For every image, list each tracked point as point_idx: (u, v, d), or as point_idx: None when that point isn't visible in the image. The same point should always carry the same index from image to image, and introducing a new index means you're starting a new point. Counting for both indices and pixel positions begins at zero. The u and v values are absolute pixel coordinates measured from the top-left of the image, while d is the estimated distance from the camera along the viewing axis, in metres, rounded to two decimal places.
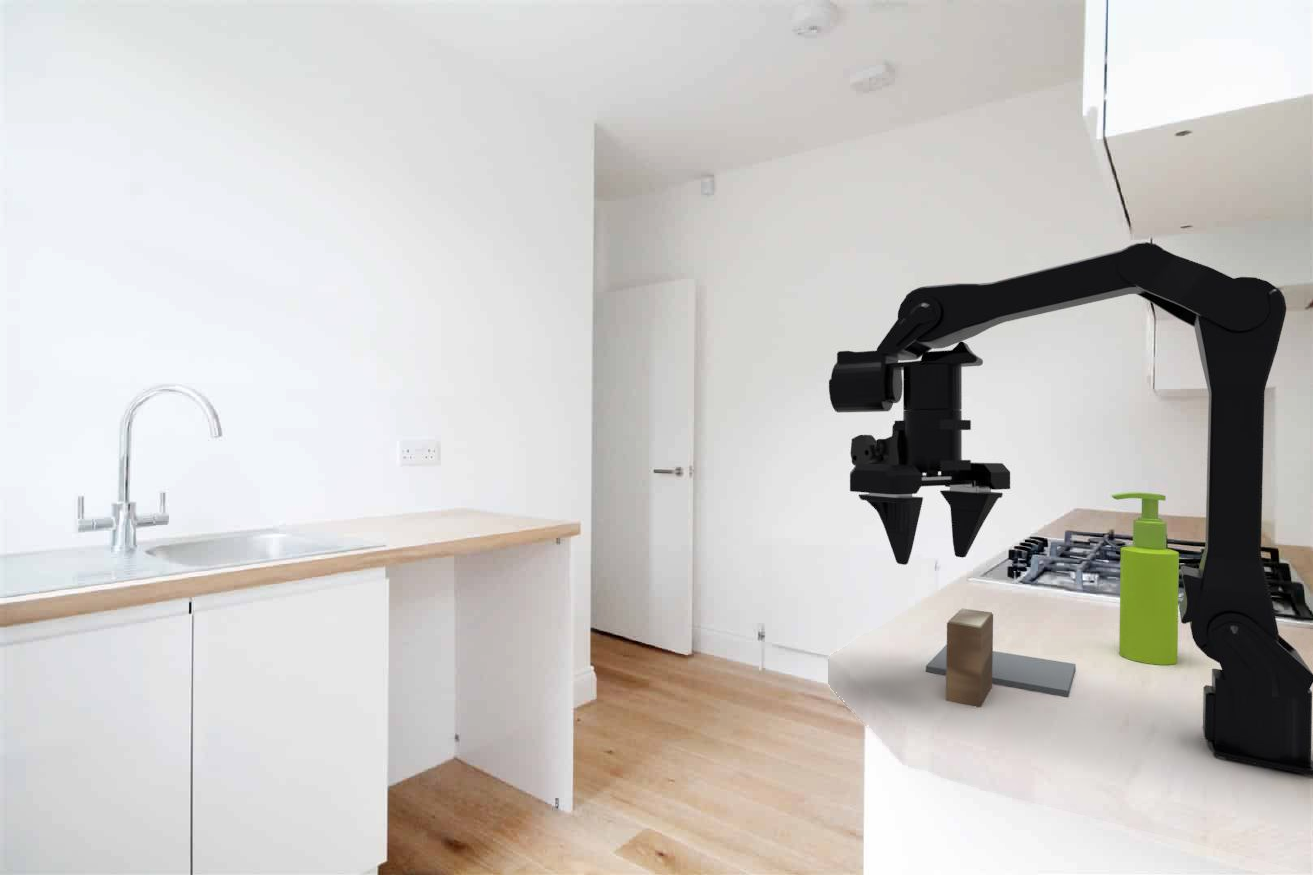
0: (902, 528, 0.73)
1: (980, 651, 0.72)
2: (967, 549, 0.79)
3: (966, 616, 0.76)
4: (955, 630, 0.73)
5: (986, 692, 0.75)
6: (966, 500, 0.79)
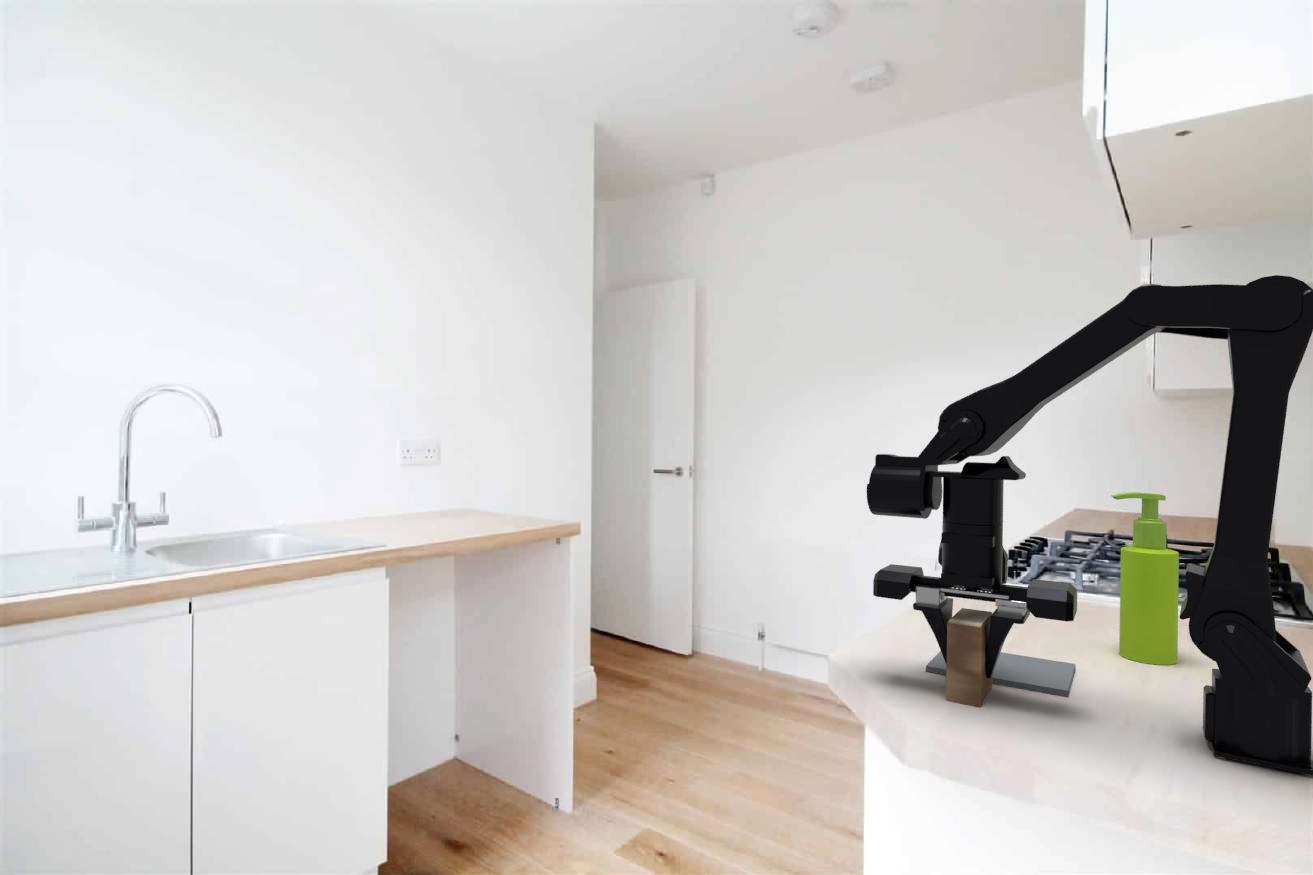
0: None
1: (980, 651, 0.72)
2: (987, 670, 0.74)
3: (966, 616, 0.76)
4: (955, 630, 0.73)
5: (986, 692, 0.75)
6: None
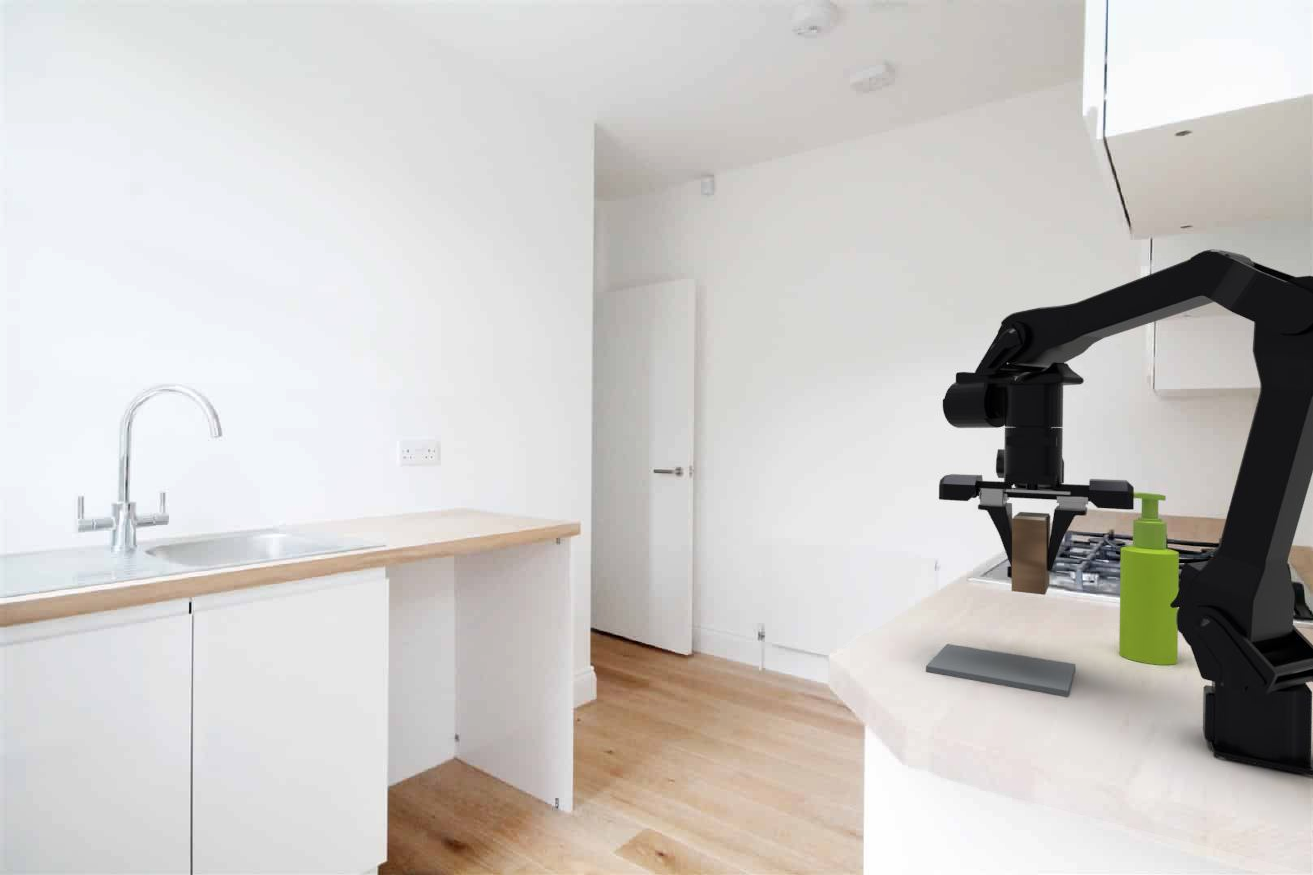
0: None
1: (1045, 542, 0.78)
2: (1049, 563, 0.80)
3: (1028, 515, 0.81)
4: (1020, 525, 0.79)
5: (1047, 584, 0.81)
6: None
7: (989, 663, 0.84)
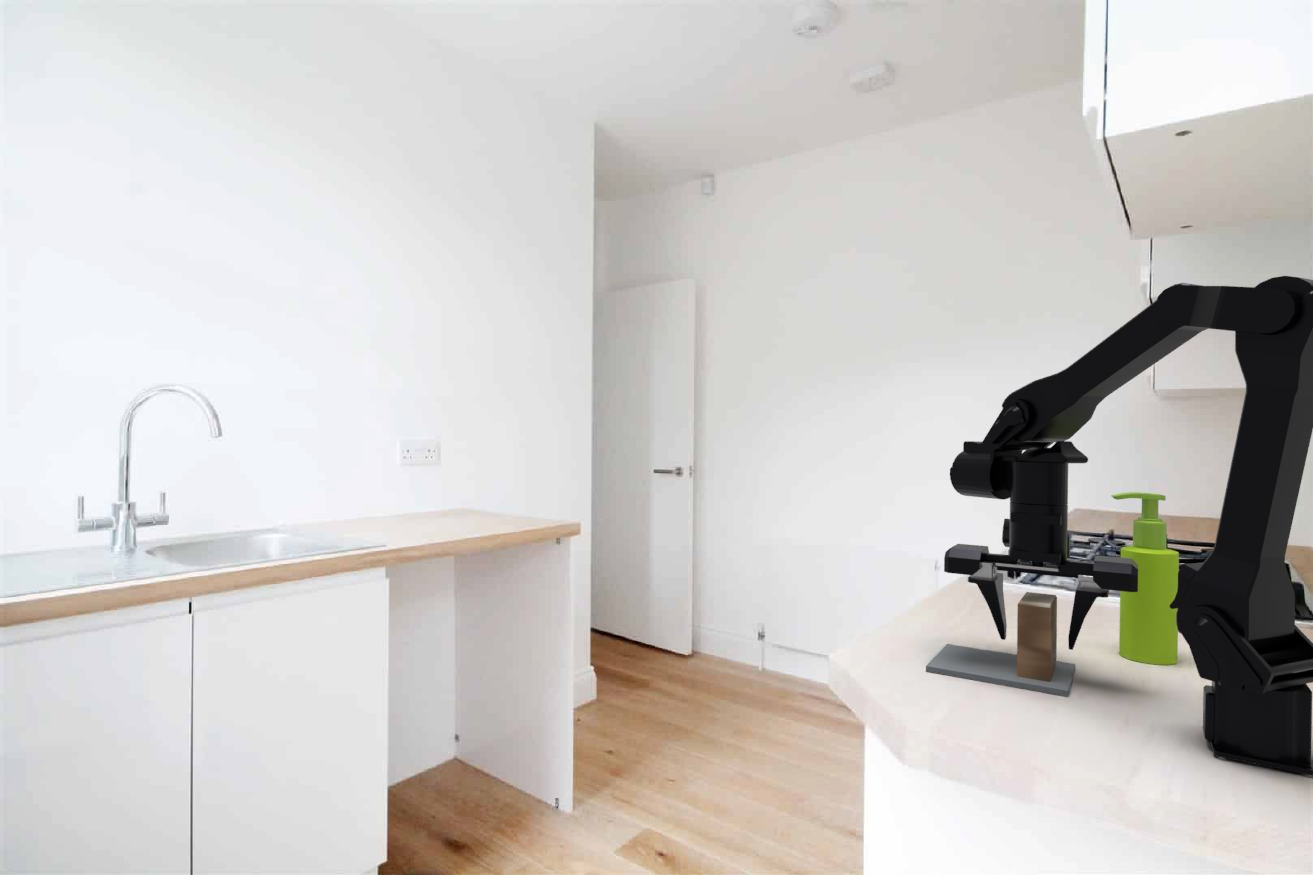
0: None
1: (1050, 629, 0.78)
2: (1071, 642, 0.79)
3: (1033, 598, 0.82)
4: (1025, 611, 0.79)
5: (1053, 668, 0.81)
6: None
7: (989, 663, 0.84)
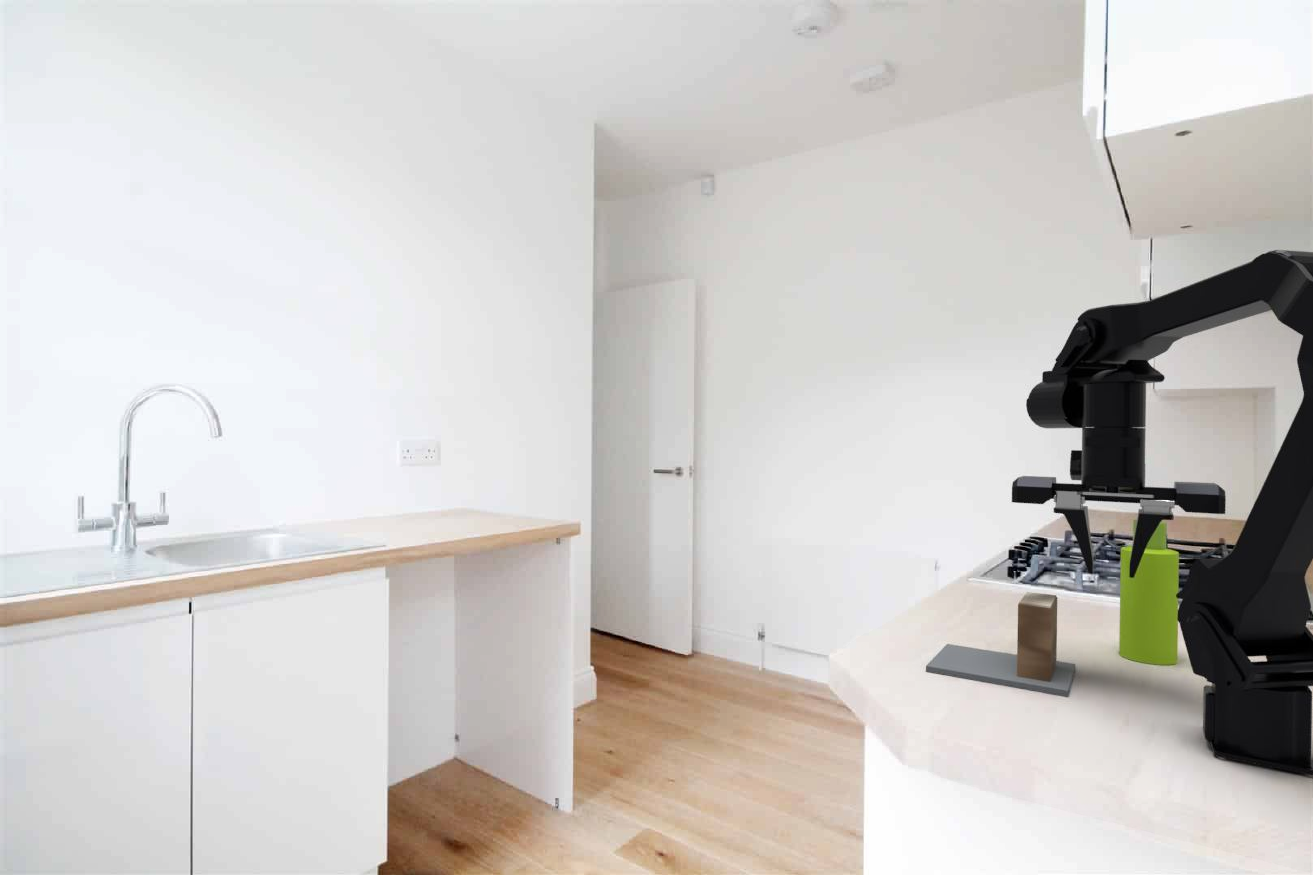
0: None
1: (1050, 630, 0.78)
2: (1132, 569, 0.76)
3: (1034, 598, 0.82)
4: (1026, 611, 0.79)
5: (1053, 668, 0.81)
6: (1137, 519, 0.76)
7: (989, 663, 0.84)
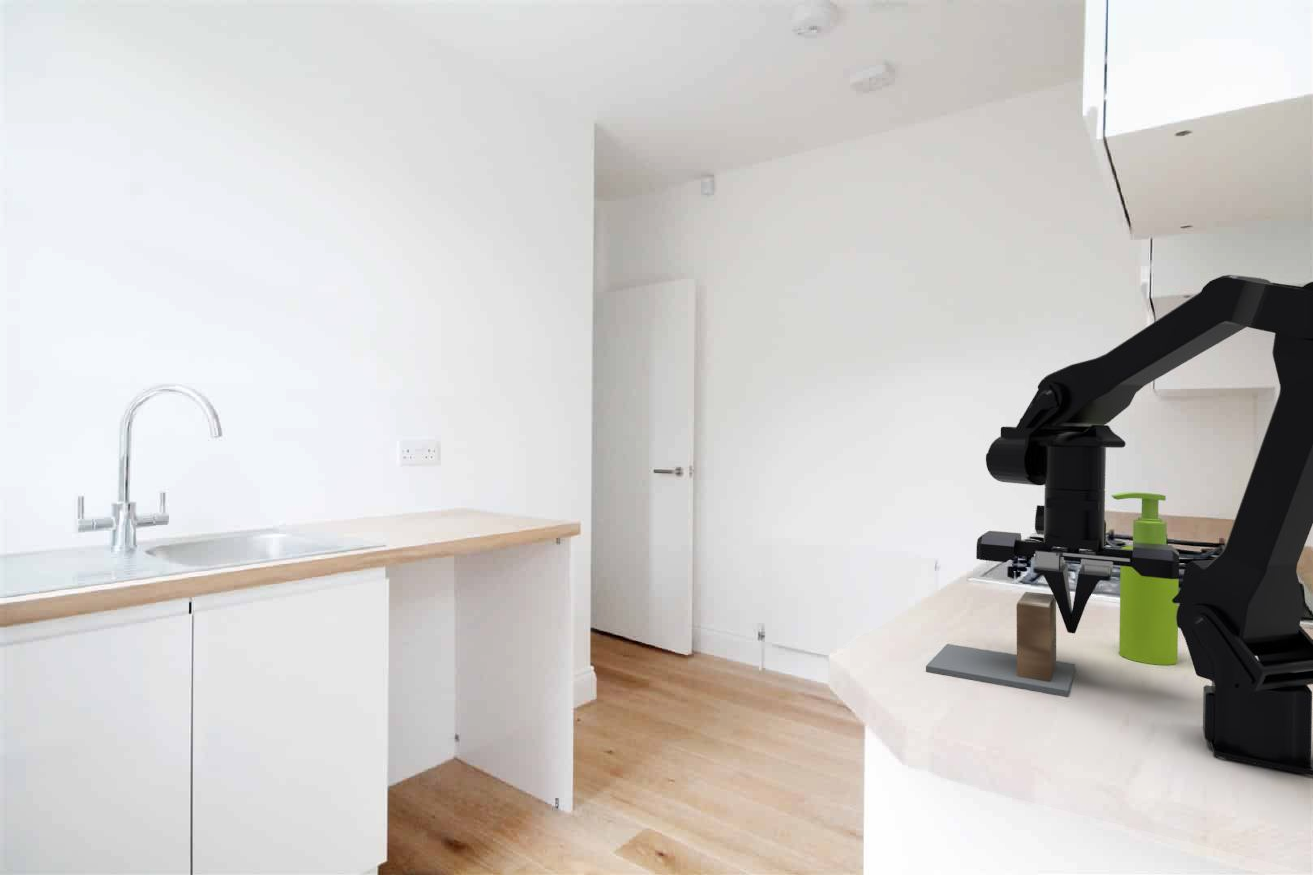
0: None
1: (1049, 629, 0.78)
2: (1073, 625, 0.79)
3: (1032, 598, 0.82)
4: (1024, 611, 0.79)
5: (1053, 668, 0.81)
6: None
7: (989, 663, 0.84)
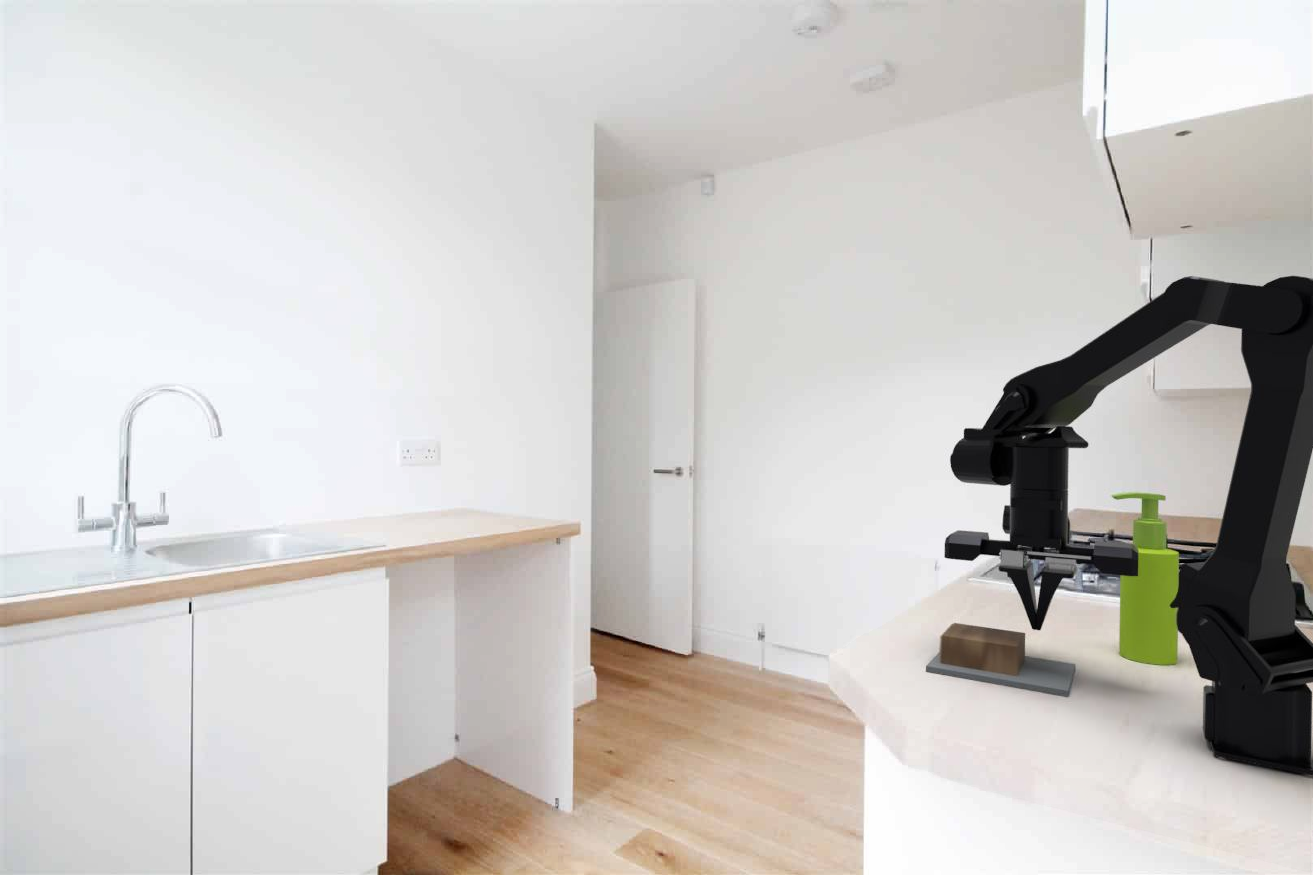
0: None
1: (963, 639, 0.83)
2: (1038, 623, 0.81)
3: None
4: (947, 657, 0.84)
5: (1016, 638, 0.83)
6: None
7: None
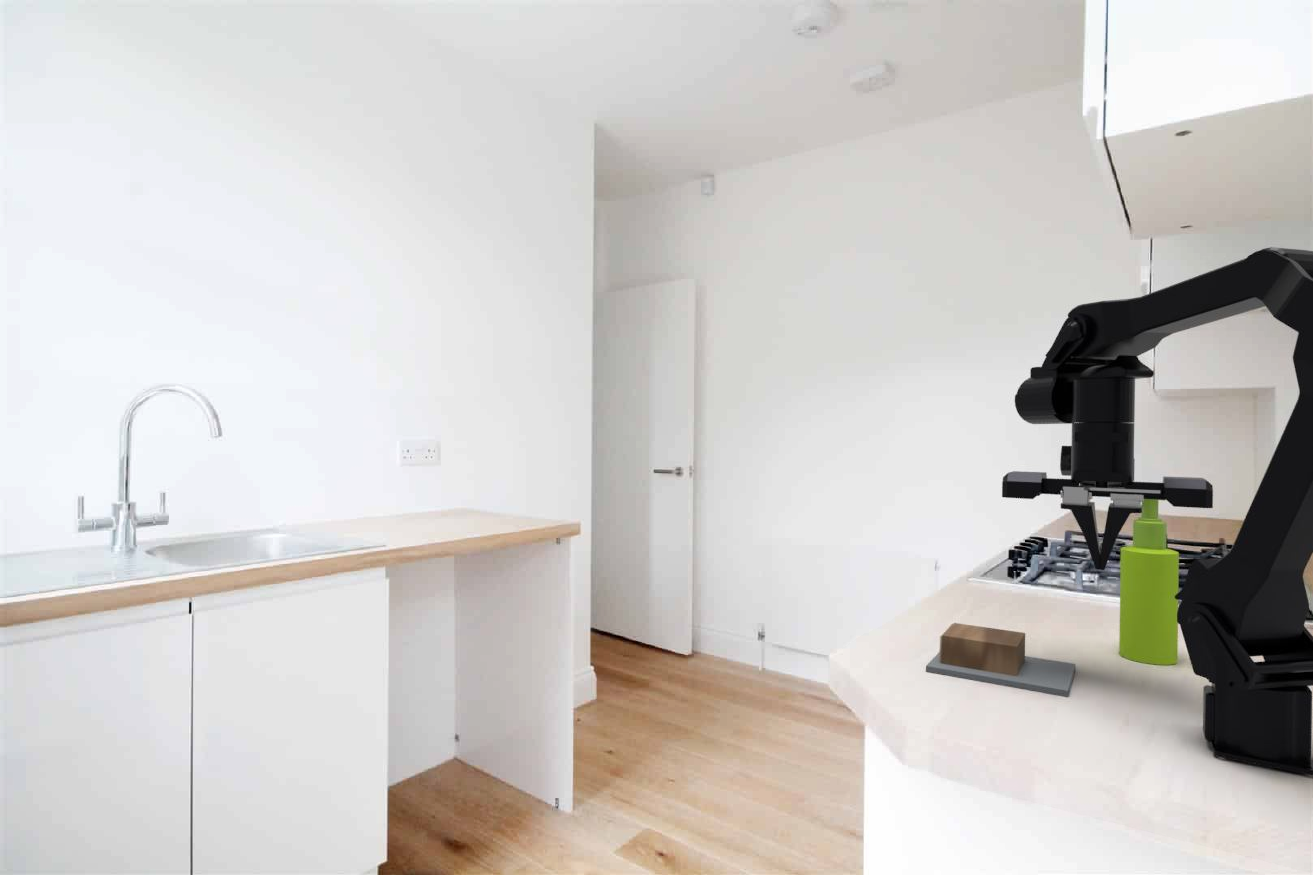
0: None
1: (963, 639, 0.83)
2: (1102, 562, 0.78)
3: None
4: (947, 657, 0.84)
5: (1016, 638, 0.83)
6: None
7: None
